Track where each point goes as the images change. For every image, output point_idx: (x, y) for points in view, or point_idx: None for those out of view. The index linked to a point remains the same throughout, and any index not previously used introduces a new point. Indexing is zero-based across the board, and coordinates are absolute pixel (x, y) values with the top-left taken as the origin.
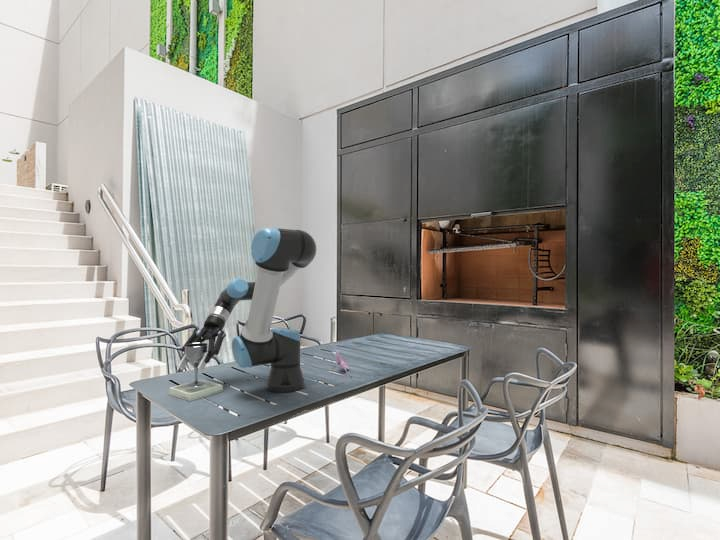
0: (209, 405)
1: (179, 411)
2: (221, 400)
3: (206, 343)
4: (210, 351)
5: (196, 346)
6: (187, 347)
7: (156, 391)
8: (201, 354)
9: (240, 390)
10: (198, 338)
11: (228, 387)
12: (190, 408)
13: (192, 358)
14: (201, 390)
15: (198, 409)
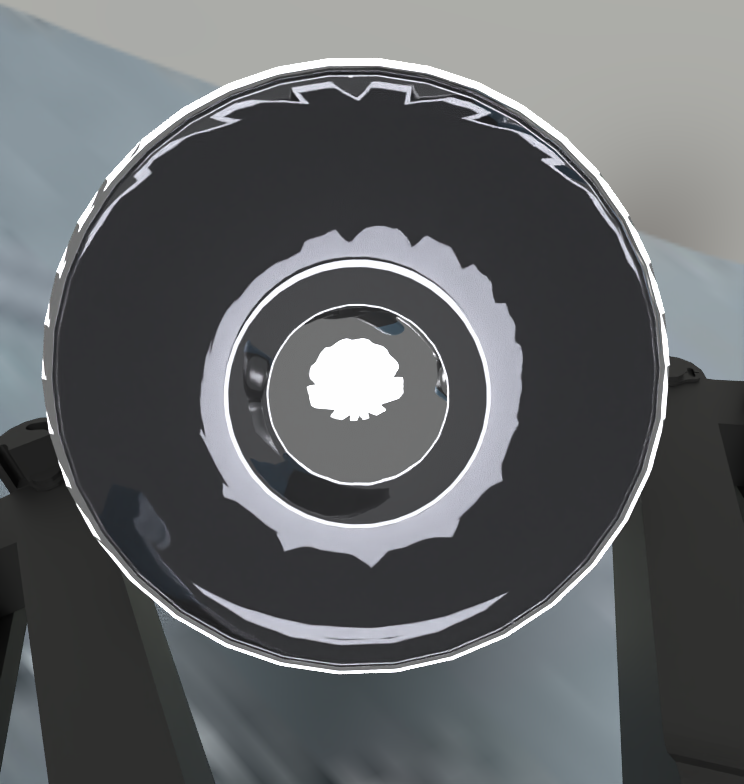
0: (14, 247)
1: (132, 73)
2: (4, 374)
3: (233, 646)
4: (9, 474)
5: (548, 550)
6: (365, 72)
7: (701, 324)
8: (151, 328)
9: (26, 666)
10: (707, 751)
11: (201, 692)
12: (104, 145)
13: (279, 235)
14: None
15: (32, 152)
